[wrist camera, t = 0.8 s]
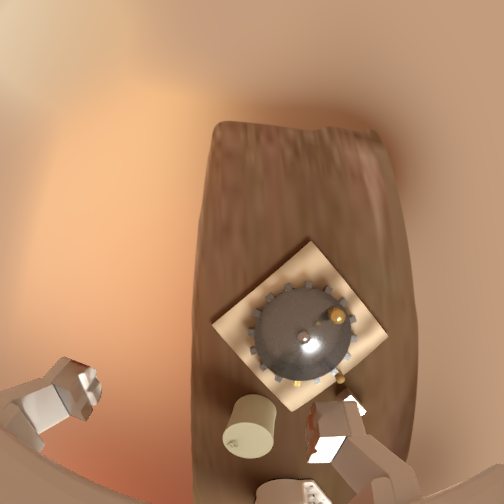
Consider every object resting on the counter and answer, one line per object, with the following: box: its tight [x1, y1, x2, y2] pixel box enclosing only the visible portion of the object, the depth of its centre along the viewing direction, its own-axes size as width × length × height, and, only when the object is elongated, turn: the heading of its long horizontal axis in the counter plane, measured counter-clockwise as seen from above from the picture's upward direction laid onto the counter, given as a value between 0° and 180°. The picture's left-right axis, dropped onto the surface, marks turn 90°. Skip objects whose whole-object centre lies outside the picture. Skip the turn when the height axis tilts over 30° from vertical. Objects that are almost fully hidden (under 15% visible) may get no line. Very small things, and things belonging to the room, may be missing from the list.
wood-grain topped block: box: [336, 387, 366, 416], centre depth 47 cm, size 6×3×4 cm, turn 41°
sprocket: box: [248, 281, 357, 387], centre depth 46 cm, size 20×20×7 cm
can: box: [223, 394, 276, 458], centre depth 45 cm, size 9×9×12 cm
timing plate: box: [212, 241, 388, 412], centre depth 49 cm, size 25×25×4 cm
